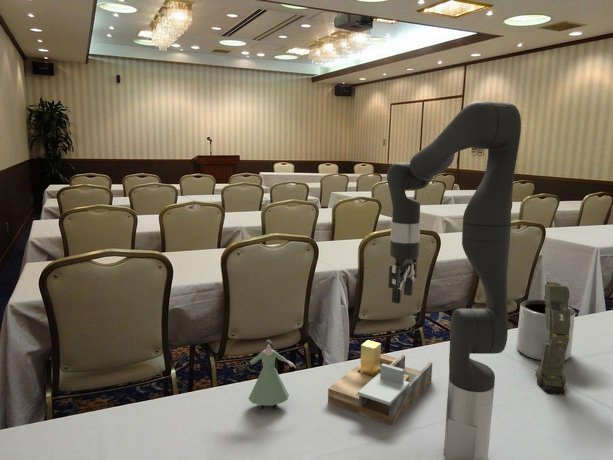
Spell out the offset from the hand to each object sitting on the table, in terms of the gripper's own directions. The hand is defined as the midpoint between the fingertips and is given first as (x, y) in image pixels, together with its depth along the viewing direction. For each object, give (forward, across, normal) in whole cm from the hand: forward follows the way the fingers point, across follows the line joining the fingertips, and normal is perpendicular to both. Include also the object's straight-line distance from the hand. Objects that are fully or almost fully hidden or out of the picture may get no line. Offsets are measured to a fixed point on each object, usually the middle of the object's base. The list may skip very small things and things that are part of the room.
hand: (402, 298), depth 133 cm
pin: (+24, -2, +8) cm, 25 cm away
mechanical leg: (+26, +26, -35) cm, 51 cm away
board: (+26, -4, +3) cm, 26 cm away
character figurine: (+26, -28, +25) cm, 46 cm away
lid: (+20, -13, -1) cm, 24 cm away
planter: (+26, +48, -30) cm, 62 cm away
